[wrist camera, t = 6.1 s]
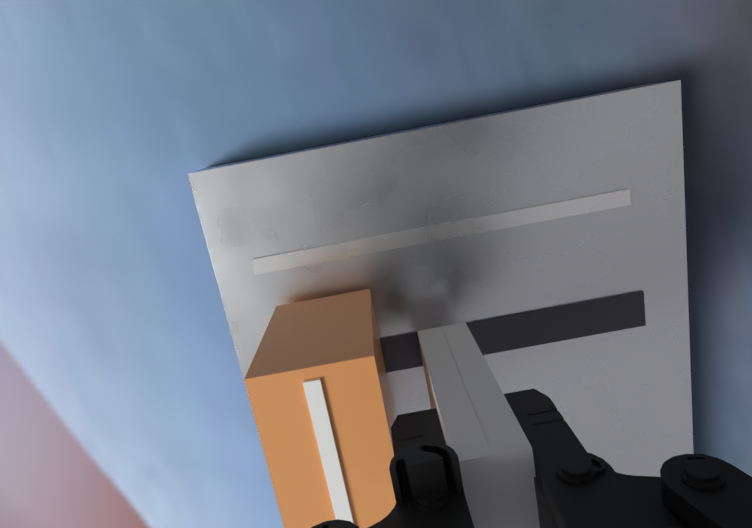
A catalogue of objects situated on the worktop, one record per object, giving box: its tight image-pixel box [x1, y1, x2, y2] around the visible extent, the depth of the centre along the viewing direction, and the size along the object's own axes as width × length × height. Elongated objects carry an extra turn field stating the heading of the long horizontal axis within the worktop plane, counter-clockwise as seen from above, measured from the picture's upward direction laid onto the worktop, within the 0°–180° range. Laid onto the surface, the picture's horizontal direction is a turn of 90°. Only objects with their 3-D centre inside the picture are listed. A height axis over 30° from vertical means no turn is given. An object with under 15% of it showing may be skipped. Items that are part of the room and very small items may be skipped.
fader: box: [244, 289, 396, 528], centre depth 15 cm, size 3×5×5 cm, turn 10°
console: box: [188, 80, 694, 528], centre depth 20 cm, size 15×24×2 cm, turn 10°
